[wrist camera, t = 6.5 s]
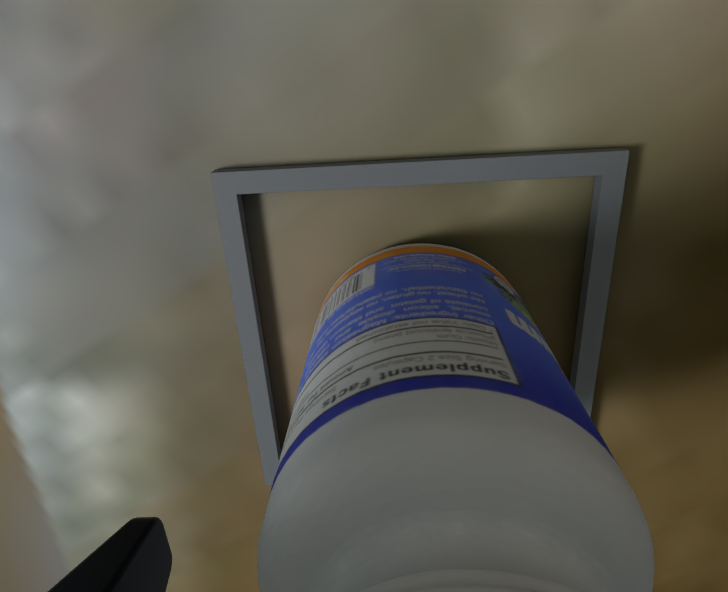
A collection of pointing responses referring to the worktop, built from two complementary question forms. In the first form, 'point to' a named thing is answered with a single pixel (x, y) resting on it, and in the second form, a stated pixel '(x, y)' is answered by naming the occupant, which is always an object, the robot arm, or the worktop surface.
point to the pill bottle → (443, 447)
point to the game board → (421, 171)
